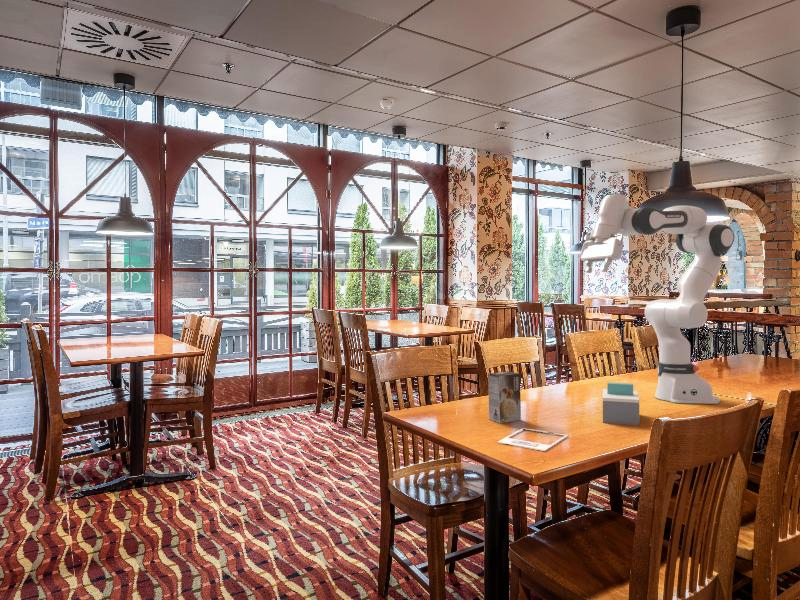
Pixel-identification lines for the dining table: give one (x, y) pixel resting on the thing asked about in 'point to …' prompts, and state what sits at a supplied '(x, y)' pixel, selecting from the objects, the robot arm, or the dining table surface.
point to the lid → (620, 393)
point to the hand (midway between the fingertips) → (595, 272)
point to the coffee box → (504, 396)
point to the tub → (621, 412)
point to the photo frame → (530, 444)
